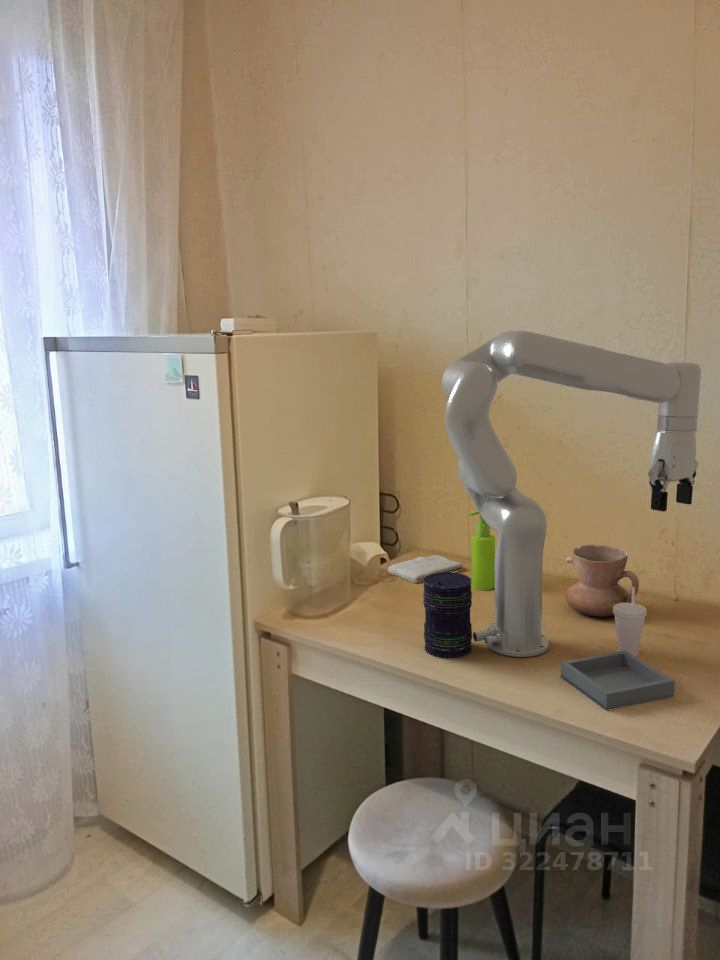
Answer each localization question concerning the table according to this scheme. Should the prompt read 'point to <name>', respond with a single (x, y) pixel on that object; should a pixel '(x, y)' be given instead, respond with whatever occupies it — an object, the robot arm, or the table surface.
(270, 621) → the table surface
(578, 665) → the tray
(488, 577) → the soap dispenser
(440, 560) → the washcloth
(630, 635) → the smoothie
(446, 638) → the storage jar
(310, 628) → the table surface
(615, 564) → the ceramic jug
